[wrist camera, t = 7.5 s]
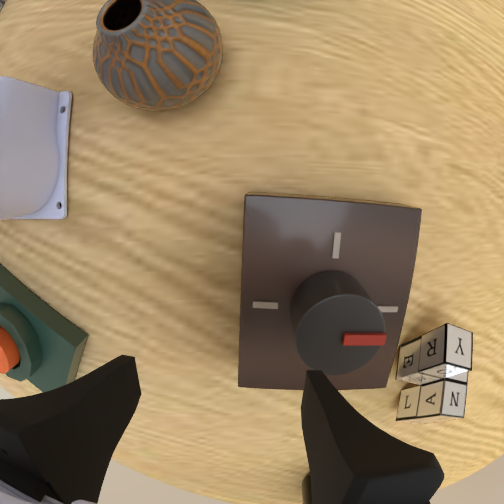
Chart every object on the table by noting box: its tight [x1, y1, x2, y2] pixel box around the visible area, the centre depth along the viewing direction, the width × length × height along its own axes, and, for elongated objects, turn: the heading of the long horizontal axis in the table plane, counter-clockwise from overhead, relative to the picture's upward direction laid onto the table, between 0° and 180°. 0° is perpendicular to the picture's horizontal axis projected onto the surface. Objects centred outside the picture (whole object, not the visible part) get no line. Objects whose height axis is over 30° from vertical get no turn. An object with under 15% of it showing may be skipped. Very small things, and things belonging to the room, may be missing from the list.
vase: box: [93, 0, 223, 111], centre depth 13 cm, size 7×7×9 cm
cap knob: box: [290, 271, 387, 375], centre depth 16 cm, size 4×4×4 cm
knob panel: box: [238, 192, 422, 390], centre depth 19 cm, size 12×10×3 cm
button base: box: [0, 264, 88, 392], centre depth 21 cm, size 12×8×4 cm, turn 59°
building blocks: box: [395, 323, 473, 424], centre depth 19 cm, size 5×5×8 cm
